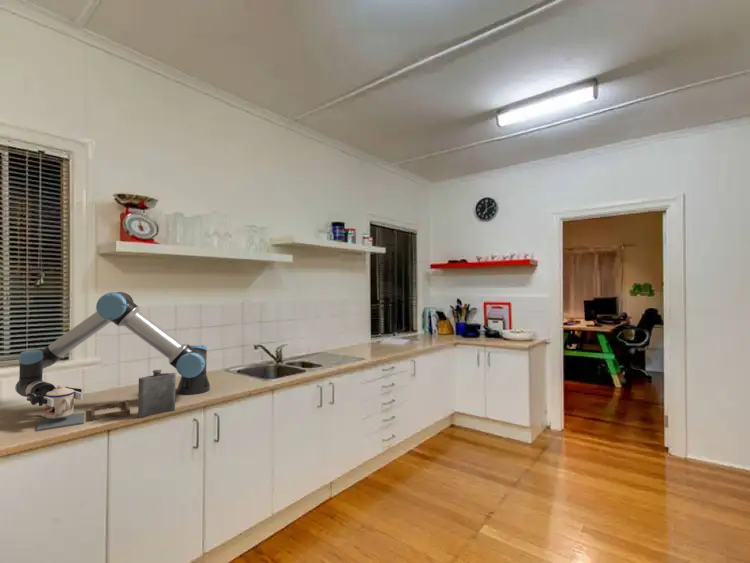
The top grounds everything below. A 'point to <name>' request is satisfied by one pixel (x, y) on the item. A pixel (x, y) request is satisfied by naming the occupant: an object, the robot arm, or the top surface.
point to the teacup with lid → (60, 402)
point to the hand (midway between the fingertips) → (67, 399)
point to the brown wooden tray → (112, 414)
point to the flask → (156, 394)
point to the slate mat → (60, 422)
